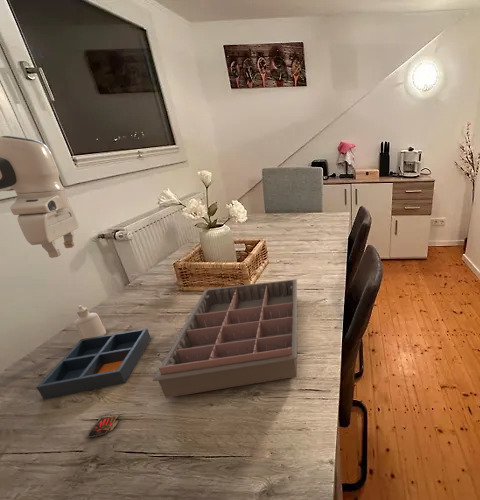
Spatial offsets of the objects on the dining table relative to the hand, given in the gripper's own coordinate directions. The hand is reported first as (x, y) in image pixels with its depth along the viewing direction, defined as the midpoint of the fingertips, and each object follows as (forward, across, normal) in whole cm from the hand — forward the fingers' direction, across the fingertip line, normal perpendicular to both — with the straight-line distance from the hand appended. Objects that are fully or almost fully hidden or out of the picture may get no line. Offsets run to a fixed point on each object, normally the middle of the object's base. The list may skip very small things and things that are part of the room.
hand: (63, 251), depth 78 cm
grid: (+30, +14, +6) cm, 34 cm away
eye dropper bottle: (+29, -2, 0) cm, 29 cm away
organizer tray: (+29, +22, +43) cm, 56 cm away
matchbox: (+32, +37, +11) cm, 50 cm away
